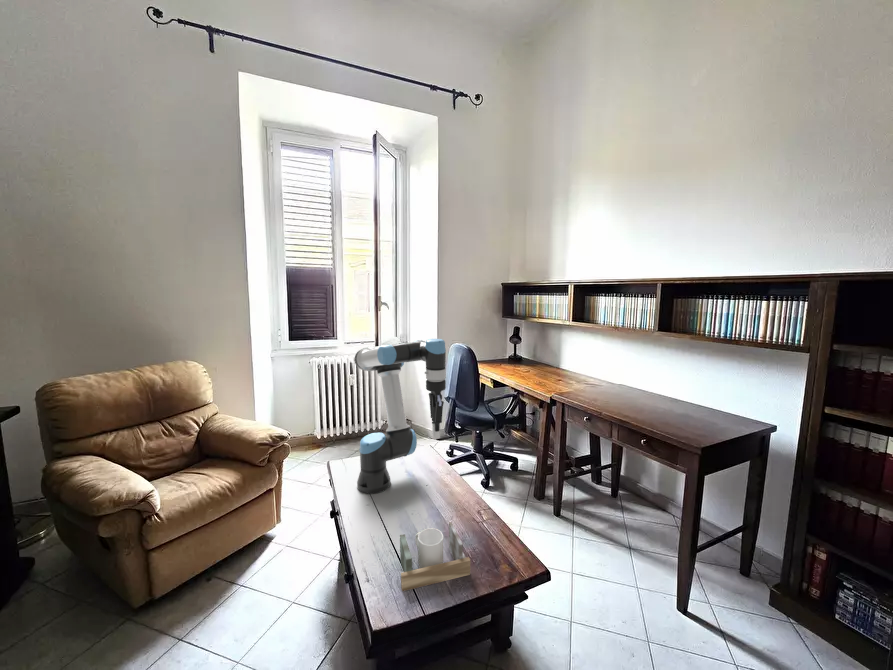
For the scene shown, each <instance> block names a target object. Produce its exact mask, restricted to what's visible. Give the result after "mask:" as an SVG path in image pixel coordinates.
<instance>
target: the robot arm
mask: <svg viewBox="0 0 893 670" xmlns="http://www.w3.org/2000/svg"><path fill="white" fill-rule="evenodd" d="M446 352H447V349H446V341H445V340H444V339H442V338H429V339H426V341H425V340H414V341H413V342H403V343H393V344H392V343H391V344H384V345H377V346H367V347H363V348H361V349H358V350H357V351H356V353H355V355H354V357H353V358H354V364H355V366H356V367H357V368H358V369H360V370H362V371H365V372H372V371H373V372H374V371H376V373H377V375H378V376H380V377H381V384H382V385H381V386H382V391H383V398H384V406H385V410H386V418H387V424H388V426H387V428H386V430H385V433H386V434H385V433H383V432H381V431H380V432H379V431H378V432H372V433H369V434H367V435H365V436H362V438H361V440H360V441H359V450H358V451H359V453H360V454H359V458H360V459H359V462H360V464H359V465H360V471H359V474H358V478H357V481H356V484H357V489H358V491H360V492H362V493H364V494H378V493H382V492H384V491H385V490H387V489H388V488H389V487H390V486H391V476H390V474H389V471H388V468H387V462H389V461H393V460H396V459H398V458H399V459H400V458H403V457H407V456H410V455H412V454H414V452H415V451H416V449H417V445H418V443H417V442H418V440H417V439H418V438H417V434H416V432H415V430H414V429H413V428H411V425H410V424H408V423H407V419H406V413H405V406H404V401H403V393H402V388H401V387H402V386H401V382H400V373H401V371H402V368H403V367H404V364H405V363H409V362H411V363H412V362H419V361H420V362H421V361H422V362H425V371H424V375H425V378H426V380H425V389H426V390H427V391H428V396H429V410H430V411H429V412H430V419H431V425H432V427H431V430H432V431H431V432H432V433H431V437H432V439H433V440H438V439H441V424H442V422H443V409H444V408H443V407H444V403H445V402H444V401H443V400H442V399H443V394H442V391H443V392H444V391H445V390H446V387H447V386H446V385H447V384H446V382H447V381H446V378H447V377H446V376H447V371H446V369H447V368H446V354H447V353H446Z"/></svg>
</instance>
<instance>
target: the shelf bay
mask: <svg viewBox="0 0 893 670" xmlns="http://www.w3.org/2000/svg"><path fill="white" fill-rule="evenodd" d="M463 545H464V544H463V542H462V540H461V538H460V536H459V534H458V532H457V530H456V528H455V525H454V524H453V522H452V521H451V522H448V549H449V552H450V554H451V557H452V559H453V560H451V561H446V562H443V563H441V564H437V565H433V566H429V567H424V568H420V567H419V568H417V569H413V557H412V553H411V549H410V546H409V542H408V540H407V536H406V534H400V535H399V555H400V556H399V557H400V564H401V568H402V572H400V579H401V580H400V584H401V585H400V586H401V587H400V588H401V592H406V591H410V590H414V589H415V590H416V589H418V588H422V587H425V586H430V585H434V584H439V583H441V582H446V581H450V580H454V579H458V578H462V577H466V576H470V575H471V558H470V557H469V556H467V557H466V556H465V553H464V551H463V550H464V549H463Z"/></svg>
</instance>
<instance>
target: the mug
mask: <svg viewBox="0 0 893 670" xmlns="http://www.w3.org/2000/svg"><path fill="white" fill-rule="evenodd" d="M414 541H415V546H416V549H417V556H418V557H417V559H418V560H417V561H418V567H419V569H420V568H424V567H429V566H433V565H437V564H441V563H444V535H443V532H442V531H441V530H439V529H437V528H435V527H429V528H425V529H423V530H421V531H418V532H417V533H416V534H415V537H414Z"/></svg>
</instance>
